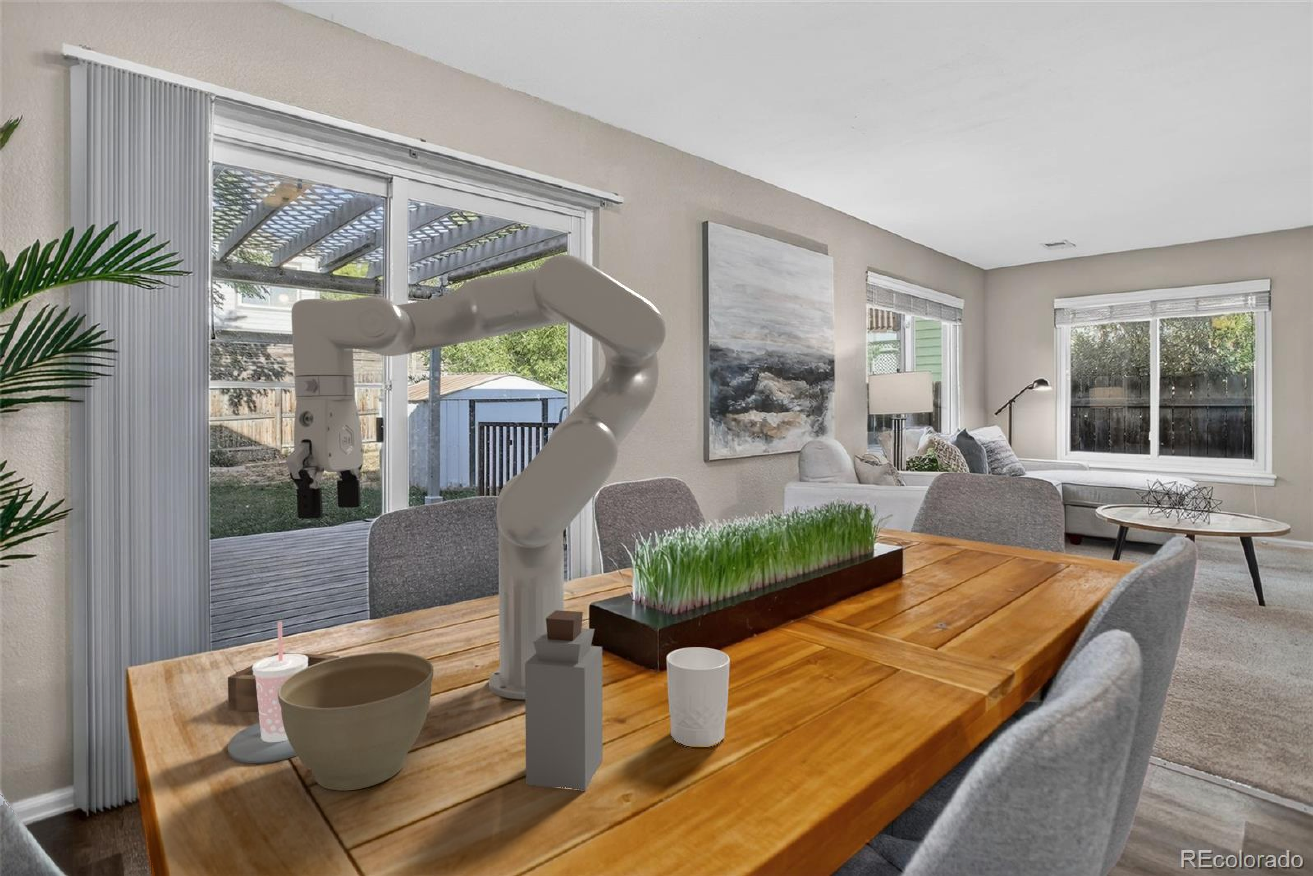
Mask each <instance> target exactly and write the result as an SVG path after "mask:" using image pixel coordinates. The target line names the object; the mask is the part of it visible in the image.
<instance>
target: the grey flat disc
mask: <svg viewBox="0 0 1313 876" xmlns="http://www.w3.org/2000/svg"><path fill="white" fill-rule="evenodd" d="M227 746H228V756H229V757H230V758H231V759H233V760H235V761H237V762H239V763H240V762H241V763H246V764H263V763H274V762H279V761H284V760H288V759H291V758H295V757H298V755H297V754H296V753H295V751H294V749H293V748H292V746H291V744H290V742H289V740H286V741H280V742H266V741H263V740H262V739H261V730H260V722H258V723H254V724H252V725H250V726H247V727H246V728H244V729H242V730H240V731H239V732H237V733H236V734H235V735H233V736H232V737H231V739H230V740H229V741H228V744H227Z"/></svg>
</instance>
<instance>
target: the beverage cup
mask: <svg viewBox="0 0 1313 876" xmlns="http://www.w3.org/2000/svg"><path fill="white" fill-rule="evenodd" d="M283 644H284V643H283V622H282V621H277V647H278V649H277V651H278V655H276V656H272V657H269V656H267V657H268V658H267V657H265V658H263V659H262V658H261V659H260V660H257V661H256V662H255V663H254V664H252V665H253V667H252V670H253V675H255V678H256V688H257V699H258V709H259V712H258V719H259V723H260V730H261V739H262V740H263V741H266V742H280V741H286V740H288V738H287V735H286V732H285V729H284V725H283V721H282V714H281V706H280V704H279V700H278V689H279V686H280V685H281V683H282V682H283V681H284V680H286V679H287V678H288V677H290V676H291V675H293V674H294V673H296V672H298V671H300V670H302V669H304V668H306V667H308V657H307V656H305V655H302V654H303V653H299V654H283V653H284V650H283V647H284V646H283Z"/></svg>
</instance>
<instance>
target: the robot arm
mask: <svg viewBox="0 0 1313 876" xmlns="http://www.w3.org/2000/svg"><path fill="white" fill-rule="evenodd" d="M567 323H569V324H570V325H572V326H573V327H575V328H576V329H578V330H579V331H581V332H583V333H584V334H586V335H588V336H590V337H591V338H592V339H594V340H596V341H597V342H599V343H600V347H601V349H602V351H603V355H604V358H605V359H604V360H605V362H604V363H605V364H604V368H603V371H602V374H601V376H600V377H599V379H598V380H597V381H596V383H594V385H593V386H592V387H591V388H590V390H589V391H588V393H587V394H586V395H585V396H584V398H583V399H581V401H580V402H579V403H578V404H577V405H576V407H575V408H574V409H573V410H572V411H571V412H570V413H569V414H568V415H567V417H566V418H565V419H564V420H562V422H560V423H559V424H558V425H557V426H556V427H555V428H554V429H553V430H552V432H551V434H550V436H549V438H548V441H547V442H546V443H545V444H544V446H543V447H542V448H541V449H540V450H539V452H538V453H537V454H536V455H535V456H534V457H533V459H532V460H531V461H530V462H529V463H528V464H527V466H525V468H524V469H523V470H522V472H520V473H519V474H516V475H514V476H513V477H511V478H510V479H508V481H507V482H506V483H505V484H504V485H503V487H502V488H501V490H500V493H499V495H498V498H497V503H496V504H497V505H496V513H495V514H496V521H497V524H498V527H497V528H498V624H499V625H498V626H499V627H498V628H499V629H498V631H499V633H498V635H499V636H498V637H499V639H498V641H499V648H498V649H499V654H498V655H499V668H498V669H497V670H495V671H494V672H492V674H490V676H489V679H488V687H489V690H490V691H491V692H492V693H493V694H495V695H497V696H500V697H503V698H507V699H511V700H525V663H526V662H527V661H528V660H529V659H530V658H531V657H532V656H533V655H534V654H536V650H535V646H534V643H533V641H534V640H535V639H536V638H537V637H538V636H540V635H541V634H542V633H543V632H544V631H545V630H546V629H547V626H546V618H547V617H548V616H549V615H551V614H552V613H553V612H554V611H555V610H560V611H565V599H564V597H565V595H564V594H565V589H564V588H565V587H564V586H565V582H564V581H565V562H564V561H565V560H564V558H565V556H564V551H565V550H564V547H565V546H564V531H565V530H566V529H567V528H568V527H569V525H570V524H571V523H572V522H573V521H574V520H575V519H576V517H577V516H578V515H579V513H581V512H582V510H583V509H584V508H585V507H586V505H587V504H588V503H589V502H590V501H591V499H592V498H593V497H594V496H595V495H596V494H597V492H598V491H599V490H600V489H601V488H602V487H603V485H605V483H606V481H607V480H608V479H609V477H610V476H611V474H612V472H613V471H614V469H615V466H616V464H617V460H618V454H619V450H618V447H619V445H620V444H621V443H622V442H623V441H624V439H625V438H626V437H627V436H628V434H630V432H631V430H632V429H633V427H635V425H636V424H637V422H638V421H639V420H640V419H641V418H642V416H643V415H644V414H645V412H646V411H647V409H648V407H650V406H651V403H652V401H653V399H654V396H655V394H656V391H657V386H658V382H659V359H658V358H659V357H658V354H657V352H659V350H660V349H661V348H662V346H663V344H664V341H665V339H666V329H667V328H666V322H665V320H664V317H663V316H662V314H661V312H660V311H659V309H658V308H656V306H655V305H654V304H653V303H652V302H651V301H649V300H647V299H646V298H645V297H643V296H641V295H640V294H638V293H637V292H635V291H634V290H631V289H630V288H629V287H627V286H625V285H624V284H622V283H620V282H619V281H618V280H616V279H614V278H612V276H609V275H608V274H606V273H605V272H603V271H602V270H601V269H598V268H597V267H595V266H594V265H592V264H591V263H589V262H587V261H585V260H584V259H581V258H579V257H578V256H574V255H569V254H557V255H554V256H551V257H549V258H547V259H546V260H545V261H543V263H542V264H541V265H540V266H539V267H537V268H530V269H526V270H519V271H513V272H508V273H501V274H495V275H490V276H482V277H477V278H473V279H471V280H469V281H467V282H465V283H464V284H462V285H460V286H459V287H457V288H456V289H455V290H453V291H451V292H449V293H446V294H444V295H441V296H438V297H434V298H430V299H425V300H421V301H414V302H409V303H408V302H407V303H402V304H396V303H394V302H393V301H392V300H391V299H388V298H386V297H380V296H365V297H358V298H351V299H341V300H340V299H339V300H335V299H327V298H307V299H301V300H297V301H296V302H295V303H294V304H293V306H292V307H291V333H292V351H293V352H292V355H293V370H294V374H293V375H294V377H293V379H294V395H295V396H294V398H295V401H296V403H295V411H294V421H293V422H294V423H293V425H294V426H293V450H292V452H290V454H289V455H288V456H286V458H285V463H286V465H287V468H288V470H289V476H290V479H291V481H293V488H294V489H295V490H296V503H297V504H296V506H297V507H296V508H297V517H298V518H299V519H302V520H303V519H307V520H308V519H321V518H323V516H324V514H323V513H324V512H323V494H322V493H323V492H322V489H323V488H322V487H319V484H320V483H321V480H322V477H323V475H324V472H326V473H336V474H337V476H338V478H339V479H337V480H336V489H337V490H336V491H337V506H338V508H342V509H343V508H344V509H345V508H346V509H347V508H349V509H350V508H351V509H352V508H359V507H361V485H360V480H361V479H362V473H361V471H362V468H363V464H364V453H365V451H364V447H363V438H362V437H363V436H362V428H361V421H360V414H359V409H358V406H357V405H358V404H357V402H356V396H355V395H356V394H355V393H356V390H355V389H356V388H355V370H354V368H355V367H354V350H360V351H366V352H370V353H375V354H376V355H377V354H378V355H381V356H385V357H395V356H403V355H408V354H409V355H410V354H414V353H415V354H416V353H420V352H425V351H430V350H434V349H441V348H445V347H449V346H454V345H459V344H462V343H464V344H465V343H470V342H476V341H477V342H478V341H481V340H483V339H488V338H489V339H490V338H494V337H498V336H505V335H509V334H512V333H518V332H524V331H529V330H530V331H531V330H535V329H542V328H548V327H553V326H557V325H558V326H559V325H563V324H567ZM311 475H312V476H311Z"/></svg>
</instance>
